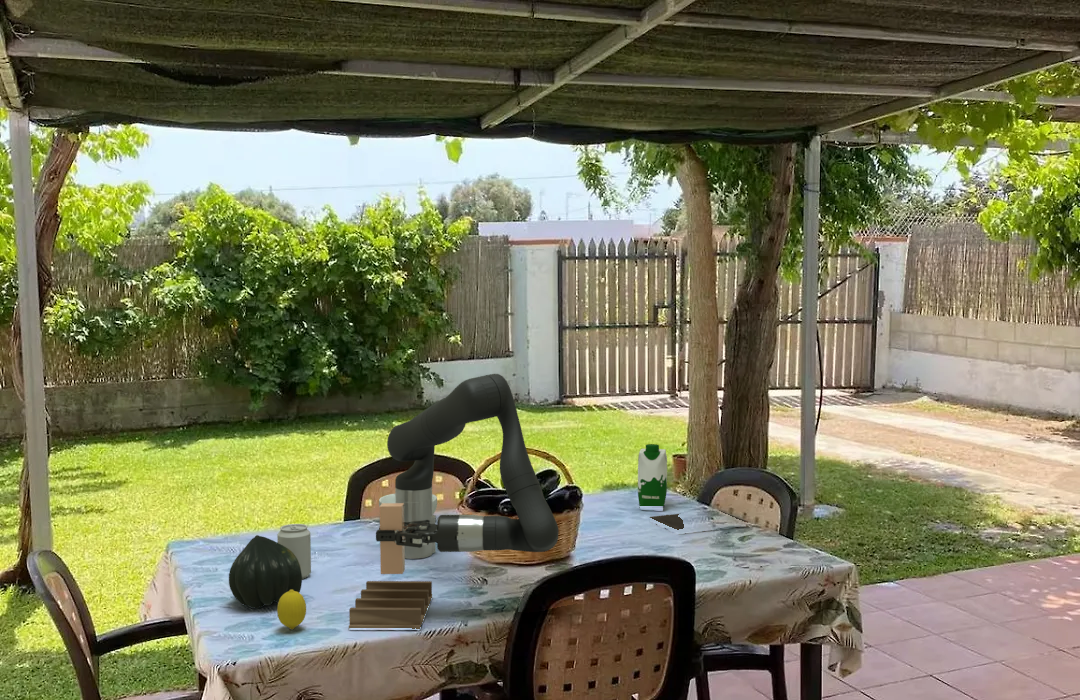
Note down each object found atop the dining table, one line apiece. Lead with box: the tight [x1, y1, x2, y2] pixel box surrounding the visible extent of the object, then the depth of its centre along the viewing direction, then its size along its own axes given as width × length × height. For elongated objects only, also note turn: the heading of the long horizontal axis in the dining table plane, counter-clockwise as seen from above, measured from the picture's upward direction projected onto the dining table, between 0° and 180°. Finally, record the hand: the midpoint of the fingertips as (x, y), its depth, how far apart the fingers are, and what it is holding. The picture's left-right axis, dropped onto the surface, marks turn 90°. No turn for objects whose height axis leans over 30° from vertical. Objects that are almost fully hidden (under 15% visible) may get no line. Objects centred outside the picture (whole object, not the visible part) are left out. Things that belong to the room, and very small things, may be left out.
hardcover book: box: [649, 509, 749, 530], centre depth 275 cm, size 16×23×2 cm
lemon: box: [276, 590, 307, 630], centre depth 190 cm, size 6×6×8 cm
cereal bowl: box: [378, 493, 438, 515], centre depth 277 cm, size 17×17×7 cm
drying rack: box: [348, 580, 433, 629], centre depth 199 cm, size 20×14×4 cm
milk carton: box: [637, 443, 668, 507], centre depth 294 cm, size 9×9×20 cm
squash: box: [228, 534, 303, 609], centre depth 206 cm, size 14×15×15 cm
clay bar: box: [379, 503, 406, 575], centre depth 198 cm, size 3×4×14 cm, turn 89°
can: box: [276, 523, 312, 580], centre depth 224 cm, size 8×8×12 cm
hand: (378, 533), depth 198 cm, fingers closed on clay bar, 3 cm apart
